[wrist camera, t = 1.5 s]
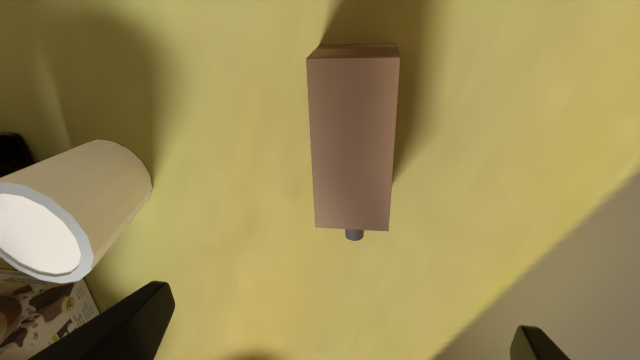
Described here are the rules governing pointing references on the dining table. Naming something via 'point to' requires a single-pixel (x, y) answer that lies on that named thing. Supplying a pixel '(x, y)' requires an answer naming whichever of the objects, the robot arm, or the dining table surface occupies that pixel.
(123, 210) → the short tan cylinder
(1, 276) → the coffee box
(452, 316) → the dining table surface
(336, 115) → the walnut plug
